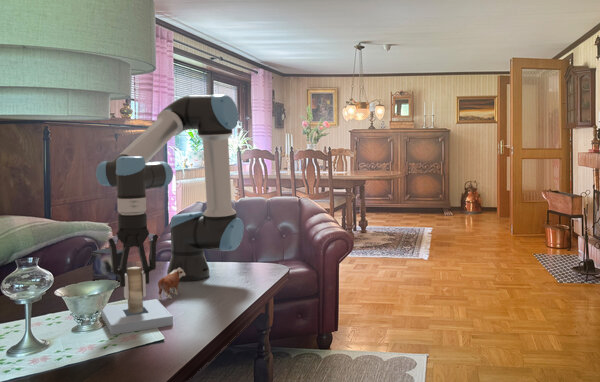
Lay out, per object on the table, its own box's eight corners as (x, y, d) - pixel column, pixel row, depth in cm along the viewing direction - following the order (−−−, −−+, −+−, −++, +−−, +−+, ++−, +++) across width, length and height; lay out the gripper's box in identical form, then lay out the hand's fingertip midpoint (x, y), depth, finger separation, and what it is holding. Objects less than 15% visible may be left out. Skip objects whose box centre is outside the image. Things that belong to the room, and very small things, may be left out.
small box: (91, 280, 202) (90, 251, 201) (104, 276, 208) (103, 247, 207) (115, 283, 198) (114, 253, 197) (128, 278, 204) (126, 249, 203)
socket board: (101, 315, 163) (100, 306, 163) (157, 307, 170) (156, 299, 170) (111, 334, 147) (111, 325, 147) (173, 325, 154) (172, 316, 154)
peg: (126, 310, 159) (125, 267, 158) (141, 308, 161) (140, 266, 160) (129, 314, 156) (128, 270, 154) (144, 311, 157) (143, 269, 156)
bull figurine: (188, 290, 188) (187, 266, 187) (166, 302, 175) (165, 276, 174) (176, 289, 189) (176, 265, 188) (153, 301, 177) (152, 275, 176)
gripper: (101, 216, 148) (105, 304, 151) (166, 212, 156) (169, 295, 158) (97, 213, 155) (100, 297, 157) (160, 209, 163) (162, 289, 165)
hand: (135, 296), depth 158 cm, fingers closed on peg, 4 cm apart
